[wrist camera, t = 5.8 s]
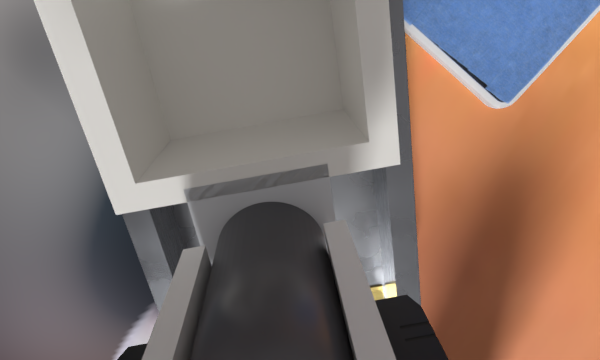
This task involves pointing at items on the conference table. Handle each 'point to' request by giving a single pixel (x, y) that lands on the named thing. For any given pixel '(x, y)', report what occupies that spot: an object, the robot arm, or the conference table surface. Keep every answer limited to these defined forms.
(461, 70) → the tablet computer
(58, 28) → the open tray with handle
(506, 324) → the conference table surface
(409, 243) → the bay
